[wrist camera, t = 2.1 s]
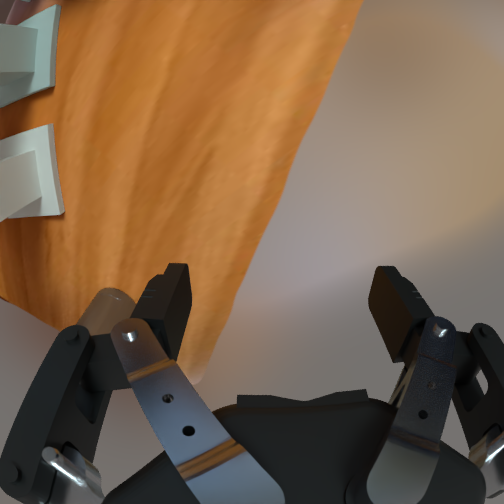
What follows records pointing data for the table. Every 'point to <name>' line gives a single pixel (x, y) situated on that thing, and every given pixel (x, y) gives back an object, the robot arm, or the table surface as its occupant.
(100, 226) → the table surface
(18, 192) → the tall pedestal
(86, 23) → the table surface
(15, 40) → the low pedestal
